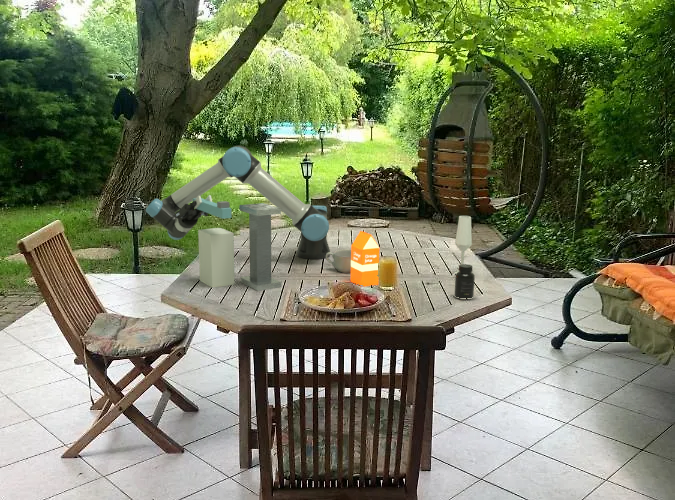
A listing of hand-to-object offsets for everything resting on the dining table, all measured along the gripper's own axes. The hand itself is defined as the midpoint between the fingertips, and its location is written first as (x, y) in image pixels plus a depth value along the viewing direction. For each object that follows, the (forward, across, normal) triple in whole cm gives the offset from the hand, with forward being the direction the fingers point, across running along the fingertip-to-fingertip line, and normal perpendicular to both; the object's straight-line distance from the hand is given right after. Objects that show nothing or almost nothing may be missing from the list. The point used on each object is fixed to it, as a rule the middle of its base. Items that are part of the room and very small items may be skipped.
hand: (205, 198), depth 247 cm
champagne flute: (+26, -92, -50) cm, 108 cm away
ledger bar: (+2, 0, -6) cm, 7 cm away
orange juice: (+17, -49, -46) cm, 69 cm away
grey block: (-8, 0, -31) cm, 32 cm away
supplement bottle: (+47, -69, -63) cm, 104 cm away
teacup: (0, -52, -36) cm, 64 cm away
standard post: (+1, -14, -37) cm, 39 cm away
